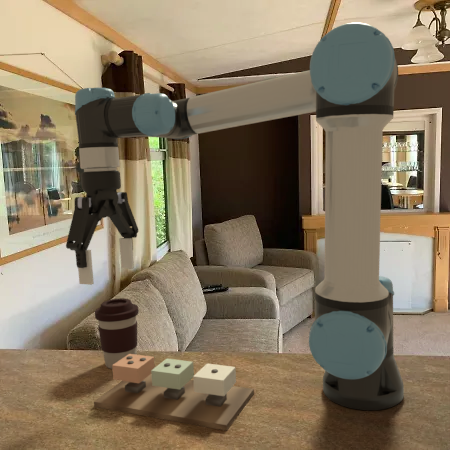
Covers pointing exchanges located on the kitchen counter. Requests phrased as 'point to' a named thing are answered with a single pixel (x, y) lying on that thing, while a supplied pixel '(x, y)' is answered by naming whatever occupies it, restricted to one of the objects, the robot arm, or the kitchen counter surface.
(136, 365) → the tile three
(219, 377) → the tile one
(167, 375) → the tile two
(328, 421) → the kitchen counter surface
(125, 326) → the coffee cup
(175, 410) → the key board
